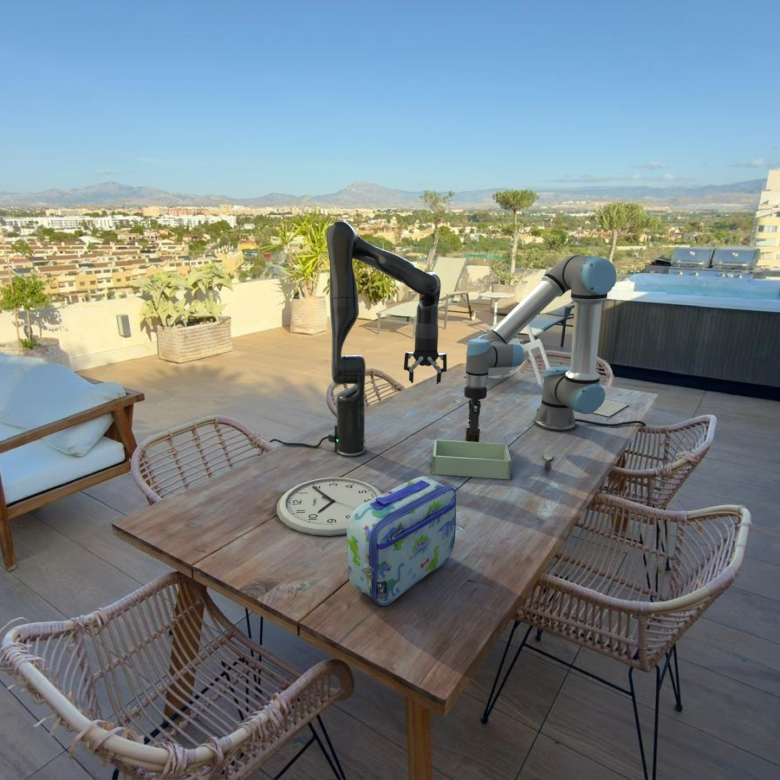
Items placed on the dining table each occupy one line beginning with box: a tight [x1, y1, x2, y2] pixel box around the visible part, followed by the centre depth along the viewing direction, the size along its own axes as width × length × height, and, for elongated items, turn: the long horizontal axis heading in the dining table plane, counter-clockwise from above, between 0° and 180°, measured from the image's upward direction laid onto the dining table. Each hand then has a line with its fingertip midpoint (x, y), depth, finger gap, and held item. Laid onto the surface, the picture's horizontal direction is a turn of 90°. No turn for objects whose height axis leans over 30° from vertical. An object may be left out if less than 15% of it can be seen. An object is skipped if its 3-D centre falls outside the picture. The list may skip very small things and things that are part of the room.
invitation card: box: [592, 399, 629, 418], centre depth 226 cm, size 21×1×15 cm
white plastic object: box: [483, 323, 551, 390], centre depth 257 cm, size 37×45×31 cm
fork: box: [543, 448, 554, 473], centre depth 170 cm, size 3×16×2 cm, turn 160°
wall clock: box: [276, 476, 384, 537], centre depth 142 cm, size 30×2×30 cm
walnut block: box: [464, 423, 481, 442], centre depth 181 cm, size 4×4×8 cm
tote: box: [431, 439, 512, 480], centre depth 166 cm, size 24×14×6 cm, turn 83°
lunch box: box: [346, 475, 457, 607], centre depth 111 cm, size 26×11×21 cm, turn 134°
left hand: (424, 382), depth 175 cm, fingers open, 8 cm apart
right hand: (471, 445), depth 182 cm, fingers open, 12 cm apart
